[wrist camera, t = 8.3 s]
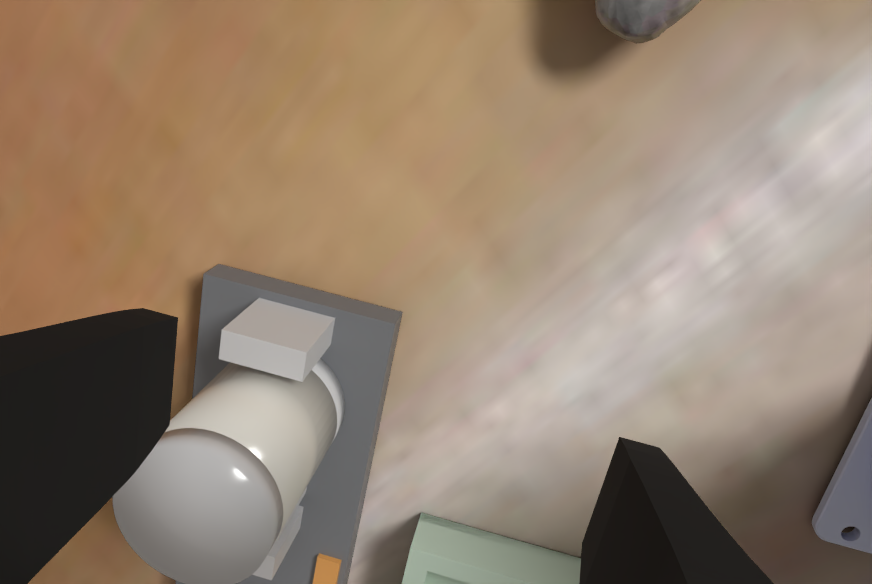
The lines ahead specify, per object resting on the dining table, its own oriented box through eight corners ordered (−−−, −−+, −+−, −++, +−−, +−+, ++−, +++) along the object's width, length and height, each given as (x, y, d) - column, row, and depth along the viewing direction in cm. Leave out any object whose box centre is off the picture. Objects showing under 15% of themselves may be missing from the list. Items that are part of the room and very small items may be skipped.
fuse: (354, 359, 22) (280, 473, 16) (334, 468, 23) (260, 606, 18) (229, 327, 22) (115, 426, 17) (218, 435, 24) (109, 561, 18)
